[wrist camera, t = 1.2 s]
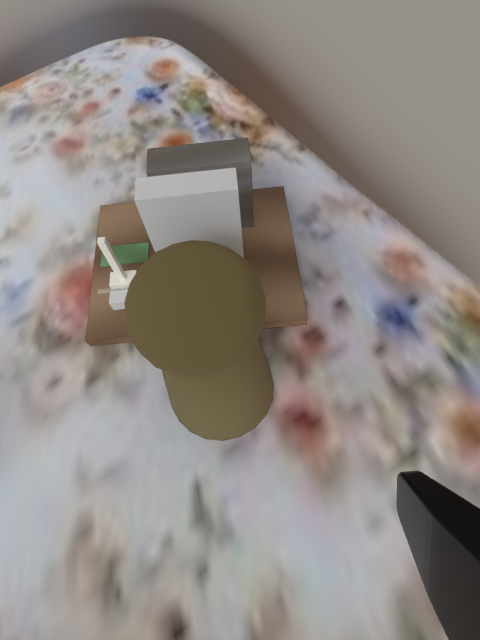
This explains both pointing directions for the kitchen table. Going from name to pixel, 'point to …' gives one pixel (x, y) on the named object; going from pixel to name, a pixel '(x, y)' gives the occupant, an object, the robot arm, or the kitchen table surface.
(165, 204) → the block
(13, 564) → the kitchen table surface
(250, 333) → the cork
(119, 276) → the pointer
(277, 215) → the board
